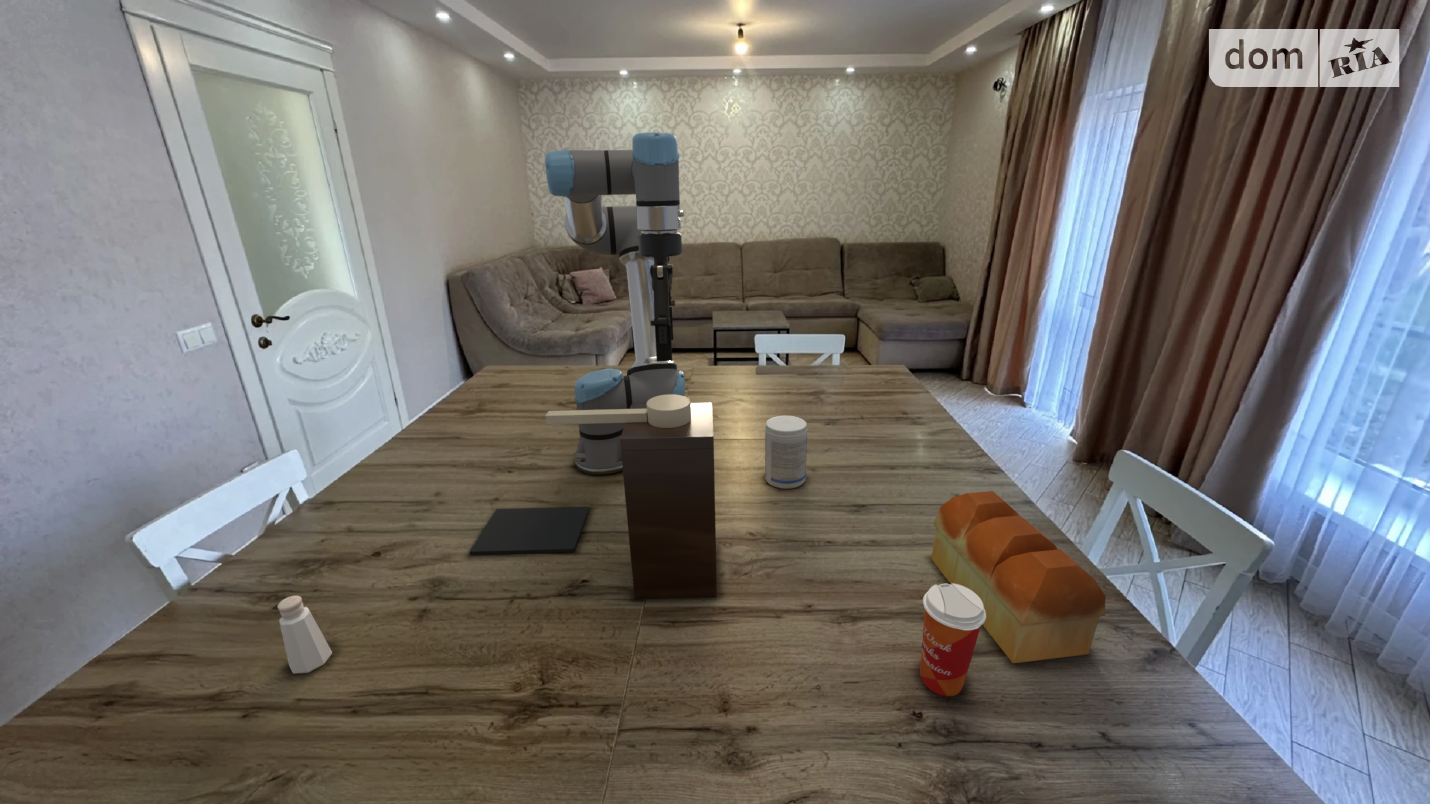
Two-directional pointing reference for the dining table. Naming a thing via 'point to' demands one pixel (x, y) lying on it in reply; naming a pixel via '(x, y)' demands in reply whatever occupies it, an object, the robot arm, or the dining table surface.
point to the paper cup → (949, 636)
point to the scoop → (632, 413)
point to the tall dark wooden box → (671, 506)
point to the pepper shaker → (302, 637)
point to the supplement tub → (785, 451)
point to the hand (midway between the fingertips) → (665, 349)
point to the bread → (1017, 579)
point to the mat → (531, 531)
